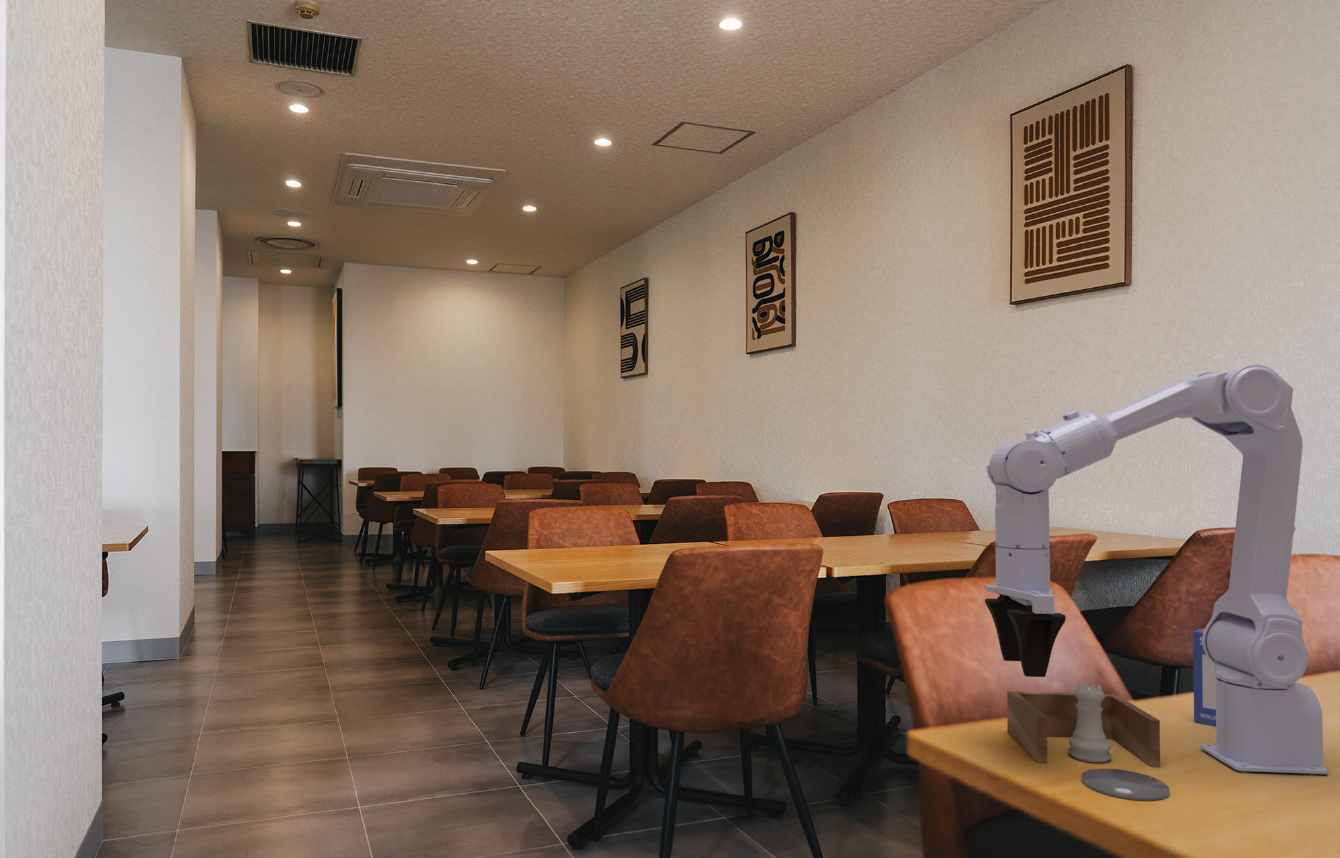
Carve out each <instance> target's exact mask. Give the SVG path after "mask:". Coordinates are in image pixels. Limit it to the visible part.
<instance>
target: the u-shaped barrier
mask: <svg viewBox="0 0 1340 858" xmlns="http://www.w3.org/2000/svg"><path fill="white" fill-rule="evenodd" d="M1104 695H1105V698H1104V699H1103V700H1102V701H1101V707H1102V708H1103V711H1102V712H1101V720H1102V727H1103V732H1104V735H1105V736H1106V739H1112V740H1113V741H1115V742H1116V743H1118V744H1119V745H1120V746H1122V747H1123V748H1124V749H1126V750H1127V751H1129V752H1130V753H1132V754H1133V755H1134V756H1135V757H1137V758H1138V759H1140V760H1142V762H1144V763H1145V764H1146V765H1148V766H1150V767H1152V768H1153V767H1154V768H1155V767H1157V768H1160V767H1161V723H1160V722H1161V721H1160V720H1159V719H1158V718H1157V717H1155V716H1153V715H1151V714H1150V713H1148V712H1146V711H1145V710H1143V709H1142V708H1140V707H1138V706H1136V705H1135V704H1133V703H1132V702H1129V701H1128V700H1127V699H1125V698H1123V697H1121V696H1120V695H1118V694H1114V693H1113V694H1111V693H1109V694H1108V693H1106V694H1105V693H1104ZM1006 697H1007V699H1006V701H1007V702H1006V703H1007V705H1006V708H1007V710H1006V711H1007V716H1006V717H1007V734H1009V735H1010V736H1011V737H1012V738H1013V740H1015V741H1016V742H1017V743H1018V744H1019V746H1021V747H1022V748H1023V750H1024V751H1026V752H1027V753H1028V754H1029V755H1030V756H1031V757H1032V758H1033V759H1034V760H1035V761H1036V762H1037V763H1045V764H1046V763H1048V737H1063V738H1064V737H1065V738H1067V737H1068V738H1071V737H1072V736H1073V732H1074V731H1075V728H1076V724H1077V717H1078V709H1077V708H1076V705H1077V704H1078V699H1077V697H1076V696H1075V694H1074V692H1051V691H1050V692H1049V691H1047V692H1046V691H1019V690H1018V691H1015V690H1014V691H1013V690H1007V696H1006Z"/></svg>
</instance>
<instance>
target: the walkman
mask: <svg viewBox="0 0 1340 858" xmlns="http://www.w3.org/2000/svg"><path fill="white" fill-rule="evenodd" d="M1204 629H1205V628H1198V629H1196V630H1193V631H1192V646H1193V647H1192V649H1193V652H1192V653H1193V656H1192V657H1193V658H1192V659H1193V660H1192V661H1193V663H1192V664H1193V665H1192V667H1193V723H1197V724H1198V723H1199V724H1204V725H1209V726H1214V727H1216V673H1215V672H1214V663H1213V662H1212V661H1211V660H1210V659H1209V658H1208V657H1207V655H1206V654H1205V652H1204V649H1203V645H1202V635H1203V632H1204Z"/></svg>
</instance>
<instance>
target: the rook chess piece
mask: <svg viewBox="0 0 1340 858" xmlns="http://www.w3.org/2000/svg"><path fill="white" fill-rule="evenodd" d="M1076 684H1077V685H1076V689H1075V690H1074V691H1073V693H1074V694H1075V696H1076V697H1077V699H1078V704H1077V705H1076V708H1077V709H1078V717H1077V724H1076V728H1075V731H1074V732H1073V736H1072V737H1069V740H1068V744H1069V745H1070V747H1069V748H1068V749H1067V751H1068V753H1069V754H1070V755H1071V757H1072V758H1074V759H1076V760H1078V761H1082V762H1085V763H1093V764H1094V763H1095V764H1103V763H1107V762H1109V761H1110V759H1111V758H1112V757H1113V756H1112V754H1111V753H1110V751H1111V749H1112V748H1111V745H1110V742H1109V741H1108V740H1107V738H1106V736H1105V735H1104V732H1103V727H1102V720H1101V712H1102V711H1103V708H1102V707H1101V701H1102V700H1103V699H1104V698H1105V695H1104V694H1105V693H1104V692H1103V689H1102V685H1099V684H1098V685H1096V683H1090V686H1088V683H1087V682H1081V683H1079V682H1078V683H1076Z"/></svg>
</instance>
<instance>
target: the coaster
mask: <svg viewBox="0 0 1340 858" xmlns="http://www.w3.org/2000/svg"><path fill="white" fill-rule="evenodd" d="M1081 782H1082V783H1083V785H1085V786H1086V787H1088V788H1089V789H1091V790H1093V791H1095V792H1097V793H1099V794H1103V795H1107V796H1110V797H1115V798H1118V799H1124V800H1131V801H1144V802H1148V801H1149V802H1150V801H1159V800H1160V801H1161V800H1164V799H1167V798H1168V797H1169V796H1170V787H1169V785H1168V784H1167V783H1165V782H1164V781H1162V780H1160V779H1158V778H1155V777H1153V776H1151V775H1148V774H1144V773H1141V772H1140V773H1139V772H1137V771H1131V770H1126V769H1125V770H1124V769H1117V768H1092V769H1087V770H1086V771H1083V772H1082V773H1081Z"/></svg>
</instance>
